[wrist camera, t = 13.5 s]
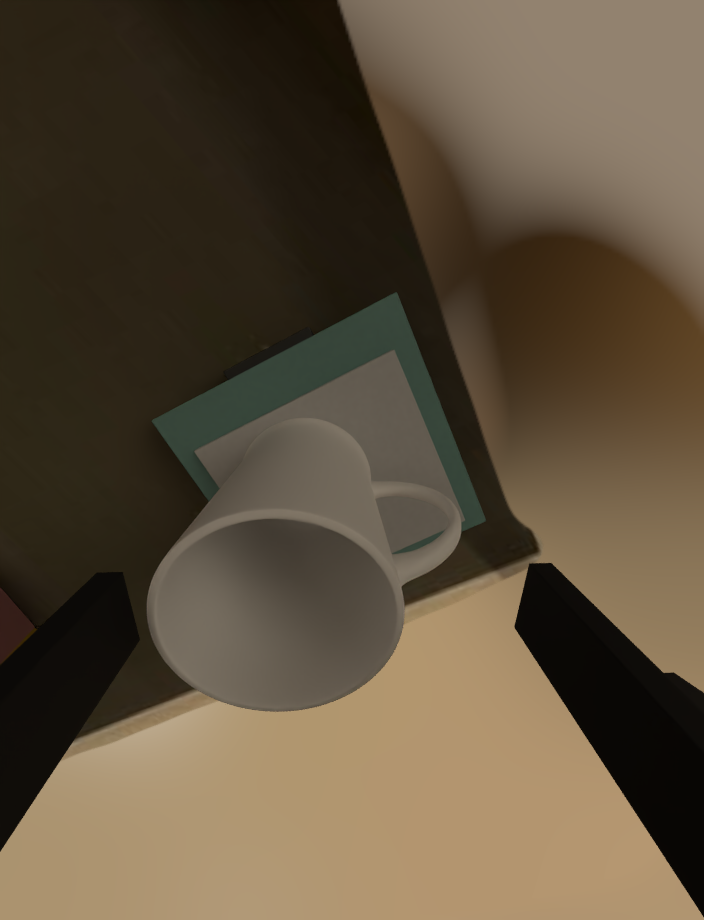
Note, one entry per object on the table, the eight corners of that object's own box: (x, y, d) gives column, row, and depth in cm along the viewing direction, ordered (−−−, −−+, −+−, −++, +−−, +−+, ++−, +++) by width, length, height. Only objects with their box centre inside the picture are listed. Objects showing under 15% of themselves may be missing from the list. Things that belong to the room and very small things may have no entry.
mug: (419, 409, 20) (528, 481, 9) (417, 527, 23) (500, 696, 12) (230, 421, 20) (98, 514, 9) (252, 541, 23) (172, 730, 11)
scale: (385, 289, 21) (394, 279, 18) (472, 505, 27) (490, 525, 23) (165, 405, 23) (139, 414, 20) (289, 587, 28) (284, 615, 25)
